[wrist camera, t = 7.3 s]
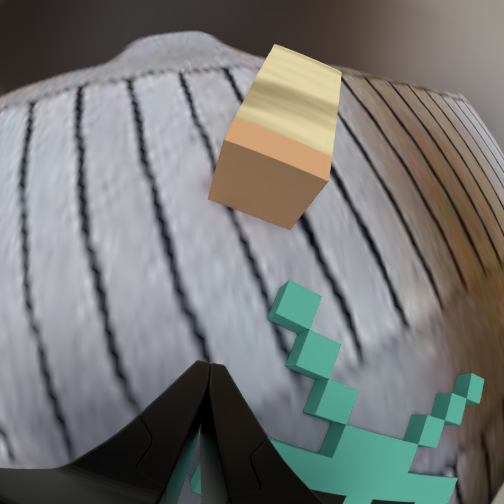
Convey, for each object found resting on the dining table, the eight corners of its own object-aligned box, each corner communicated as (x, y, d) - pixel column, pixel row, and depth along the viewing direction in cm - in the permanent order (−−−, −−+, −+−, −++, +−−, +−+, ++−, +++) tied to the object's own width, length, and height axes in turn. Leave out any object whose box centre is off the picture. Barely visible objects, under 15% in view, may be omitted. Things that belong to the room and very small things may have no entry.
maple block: (328, 181, 16) (341, 72, 22) (223, 139, 16) (274, 44, 21) (289, 230, 22) (314, 118, 27) (207, 199, 21) (255, 94, 27)
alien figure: (277, 290, 20) (150, 552, 11) (289, 279, 18) (149, 568, 9) (465, 382, 21) (386, 577, 12) (484, 379, 19) (401, 586, 10)
